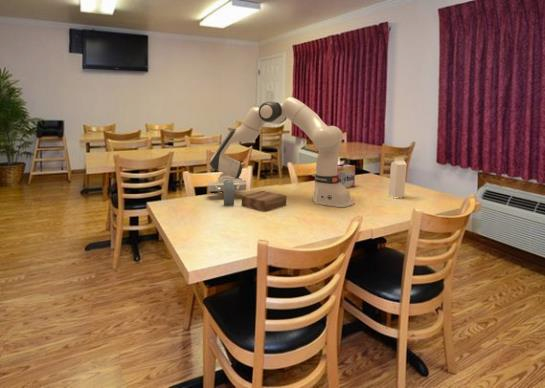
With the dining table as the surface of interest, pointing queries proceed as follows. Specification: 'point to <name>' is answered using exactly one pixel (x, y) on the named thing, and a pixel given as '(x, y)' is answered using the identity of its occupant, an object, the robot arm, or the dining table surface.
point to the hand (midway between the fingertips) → (228, 189)
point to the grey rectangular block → (228, 193)
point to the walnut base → (264, 200)
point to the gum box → (346, 174)
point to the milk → (397, 177)
